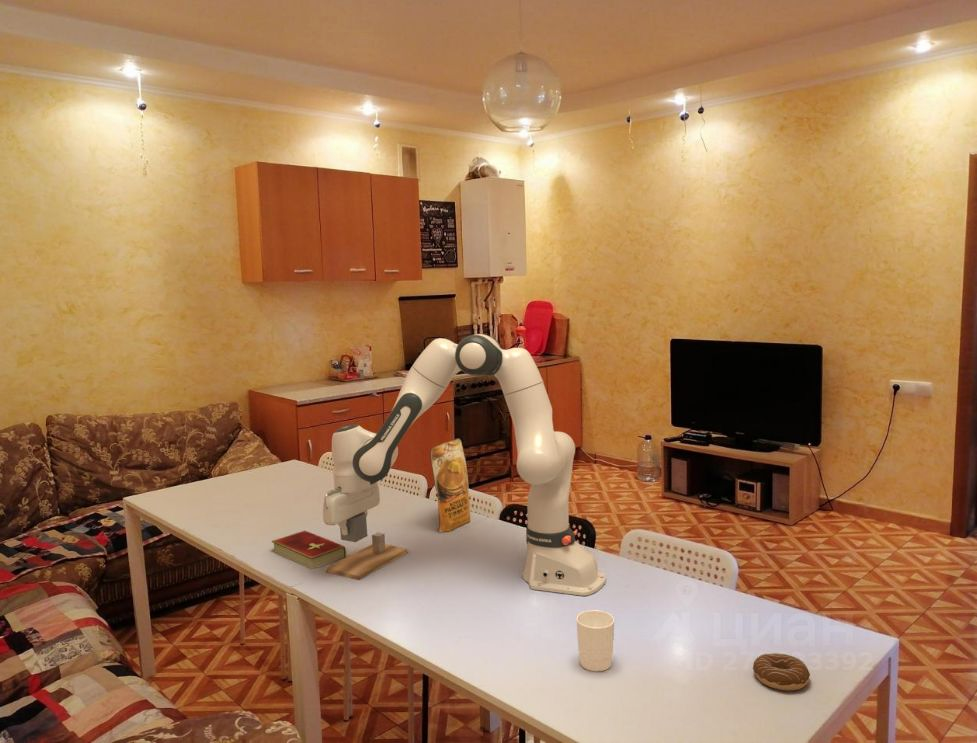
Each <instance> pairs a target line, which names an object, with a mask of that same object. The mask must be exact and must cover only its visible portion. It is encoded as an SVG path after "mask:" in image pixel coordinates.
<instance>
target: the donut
mask: <svg viewBox="0 0 977 743" xmlns="http://www.w3.org/2000/svg"><path fill="white" fill-rule="evenodd" d="M752 670H753V673H754V675H755V677H756V678H757V679H758V681H759V682H761V683H762V684H763V685H766V686H767V687H769V688H772V689H775V690H778V691H779V690H780V691H784V692H785V691H787V692H790V691H797V690H801V689H803V688H804V687H805V686H806V685H807V684H808V682H809V680H810V676H811V674H810V672H809V668H808V667H807V665H806V664H805V662H804V661H802V660H801V659H800V658H797V657H795V656H792V655H790V654H785V653H778V652H776V653H775V652H773V653H772V652H771V653H764V654H761V655H759V656H758V657H757V658H756V659H755V660H754V661H753V665H752Z"/></svg>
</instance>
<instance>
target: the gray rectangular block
mask: <svg viewBox="0 0 977 743" xmlns="http://www.w3.org/2000/svg"><path fill="white" fill-rule="evenodd" d="M367 523H368V522H367V517H366V514H364V513H360V514H358V515H356V516H354V517H352V518H350V519H347V523H346V526H347V528H350V534H348V535H342V531H341V528H340V527H339V529H340V540H341V541H346V542H353V543H357V542H359V541H361V540H363V539H365V538H367V537H368V527H367Z"/></svg>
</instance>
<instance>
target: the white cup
mask: <svg viewBox="0 0 977 743" xmlns="http://www.w3.org/2000/svg"><path fill="white" fill-rule="evenodd" d="M576 632H577V634H576V635H577V646H578V647H577V648H578V655H579V656H578V657H579V658H578V659H579V660H578V661H579V664H580V665H581V666H580V667H582V668H583V669H585V670H588V671H590V672H603V671H607V670H608V669H609V668H611V667H612V663H613V662H612V660H613V653H614V651H613V650H614V636H615V634H614V632H615V618H614V616H613V615H612V614H610V613H608V612H606V611H603V610H595V609H594V610H593V609H592V610H586V611H582V612H579V613H578V615H576Z"/></svg>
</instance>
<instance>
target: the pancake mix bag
mask: <svg viewBox="0 0 977 743" xmlns="http://www.w3.org/2000/svg"><path fill="white" fill-rule="evenodd" d="M430 463H431V468H432V478H433V484H434V487H435V490H436V495H437V508H438V510H437V511H438V530H437V531H438V533H439V534H440V533H447V532H448V533H449V532H451V531H454V530H456V529H458V528H460V527H462V526H464V525H467V524H469V523H470V522H471V512H470V510H471V509H470V507H471V506H470V505H471V504H470V494H469V491H470V490H469V475H468V466H467V460H466V456H465V452H464V446H463V442H462V440H461V438H460V437H459V438H455V439H453V440H450V441H446V442H443V443H441V444H439V445H436V446H434V447H432V448H431V450H430Z"/></svg>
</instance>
